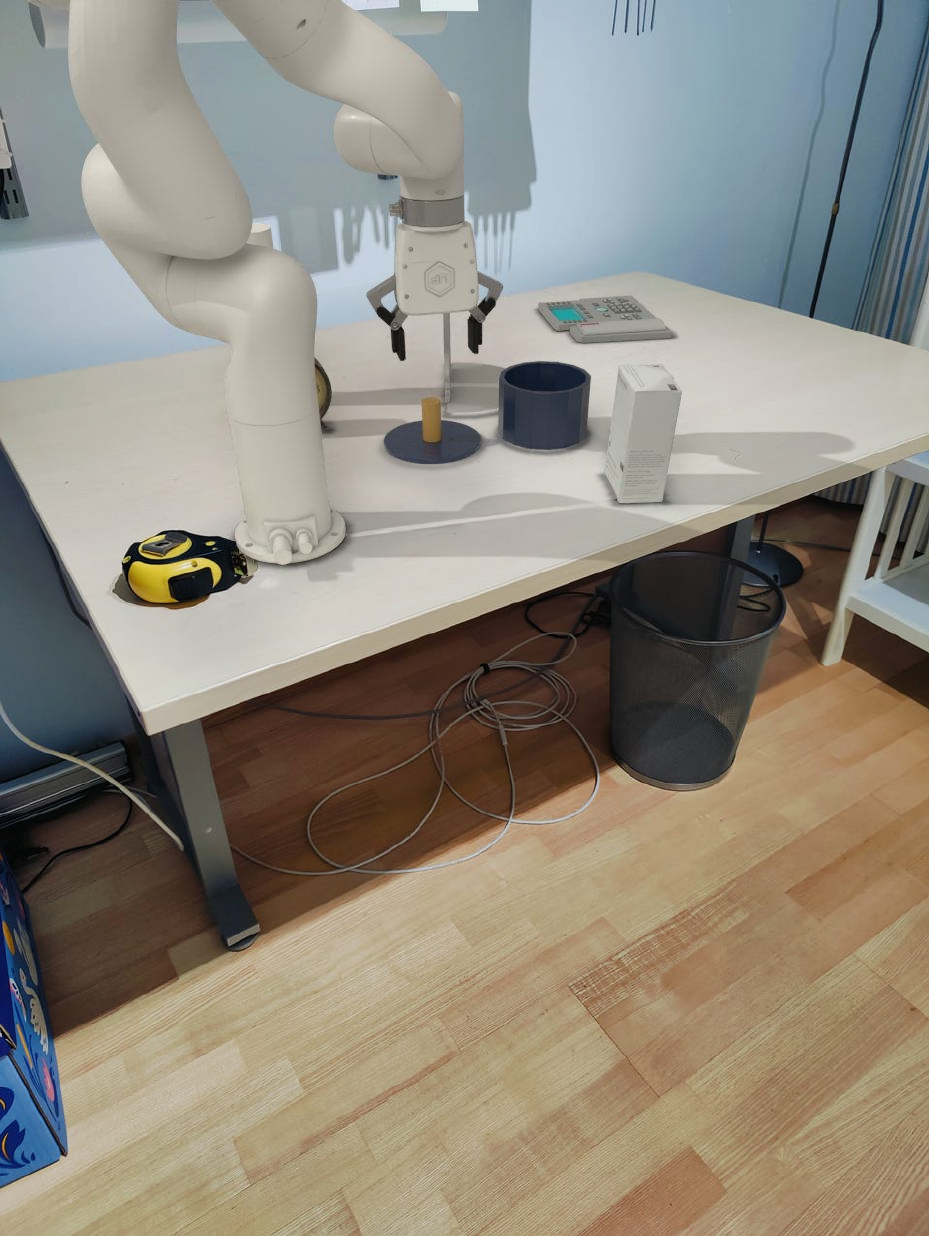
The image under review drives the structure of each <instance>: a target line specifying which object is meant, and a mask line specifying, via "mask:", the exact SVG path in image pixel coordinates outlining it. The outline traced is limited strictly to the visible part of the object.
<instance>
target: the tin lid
mask: <svg viewBox="0 0 929 1236" xmlns="http://www.w3.org/2000/svg"><path fill="white" fill-rule="evenodd" d="M481 438H482V437H481V435H480V433H479V432H478V430H477V429H476V428H473V427H472V426H470V425H467V424H465V423H462V422H458V421H453V420H447V419H446V420H445V419H442V401H441V399H440V398H438V397H435V396H429V397H428V396H427V397H424V398H422V399H421V420H416V421H411V422H407V423H404V424H401V425H398V426H396V427H394V428H392V429H391V430H389V431H388V432H387V433H386V434H385V436H384V438H383V446H384V449H385V451H386V452H387V453H388V454H389V455H391V456H392V457H394V458H396V459H398V460H401V461H404V462H409V463H414V464H422V465H423V464H425V465H435V464H436V465H437V464H445V463H452V462H456V461H460V460H462V459H466V458H468V457H470V456H471V455H473V454H475V453H476V452H477V451H478V450H479V449H480V447H481V444H482V440H481Z"/></svg>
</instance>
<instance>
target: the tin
mask: <svg viewBox="0 0 929 1236" xmlns="http://www.w3.org/2000/svg"><path fill="white" fill-rule="evenodd" d="M504 369H505V370H503V371H501V374H500V377H499V408H498V417H497V419H498V420H497V421H498V422H497V423H498V424H497V427H498V429H497V433H498V434H499V436H500V438H501V439H502V440H504V441H505V442H507V443H509V444H511V445H513V446H515V447H520V448H525V449H527V450H543V451H551V450H559V449H566V448H570V447H572V446H575V445H578V444H580V443H581V442H582V441H584V440H585V439H586V438H587V431H588V419H589V407H590V406H589V405H590V397H591V396H590V393H591V384H592V383H591V382H592V375H591V374H590V373H589V372H588V371H587V370H586V369H584V368H582V367H579V366H577V365H575V364H571V363H566V362H560V361H550V360H549V361H548V360H535V361H525V362H520V363H516V364H513V365H509V366H507V367H506V368H504ZM542 391H553V392H542Z"/></svg>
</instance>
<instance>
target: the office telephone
mask: <svg viewBox="0 0 929 1236" xmlns="http://www.w3.org/2000/svg"><path fill="white" fill-rule="evenodd" d="M537 309H538V311H539V313H540V314H541V315H542V316H543V318H544V319H545V320H546V321H547V322H548V324H549V325H550V326H551V327H552V328H553V329H554V330H555V331H556V332H561V331H563V332H564V331H569V334H570V335H571V336H572V337H573V339H574V340H575V341H576V343H581V344H586V343H588V344H589V343H607V342H626V341H642V340H643V341H644V340H660V339H672V336H673V331H672V329H670V328H669V327H668V326H667V325H666V324H665V322H664V321H663V320H662V319H661V318H659V317H658V318H657V317H656V316H655V315H654V314H652V312H650V311H649V310H648V309H647V308H646V307H645V306H644V305H642V304H641V303H640V302H639V301H638V300H637V299H636V298H635V296H632V295H617V296H601V297H586V298H579V299H577V300H565V301H563V300H562V301H550V302H549V301H547V302H544V301H543V302H541V301H540V302H538V304H537Z"/></svg>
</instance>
